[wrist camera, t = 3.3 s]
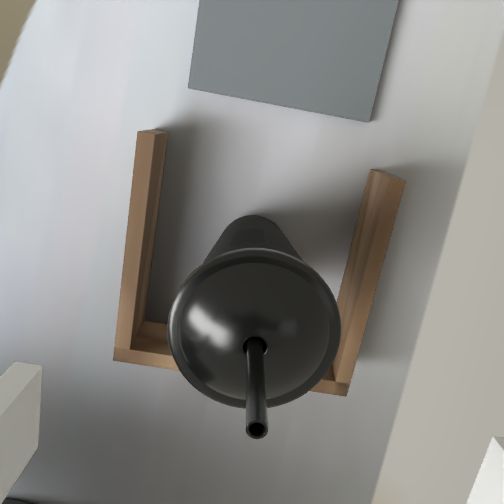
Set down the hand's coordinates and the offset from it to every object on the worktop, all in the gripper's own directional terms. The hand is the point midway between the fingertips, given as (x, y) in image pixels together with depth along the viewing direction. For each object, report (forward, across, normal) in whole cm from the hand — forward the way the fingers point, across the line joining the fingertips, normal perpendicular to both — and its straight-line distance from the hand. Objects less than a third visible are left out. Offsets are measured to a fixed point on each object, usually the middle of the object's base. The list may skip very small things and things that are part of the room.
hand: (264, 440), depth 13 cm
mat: (+21, 0, +16) cm, 26 cm away
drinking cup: (+21, 0, 0) cm, 21 cm away
